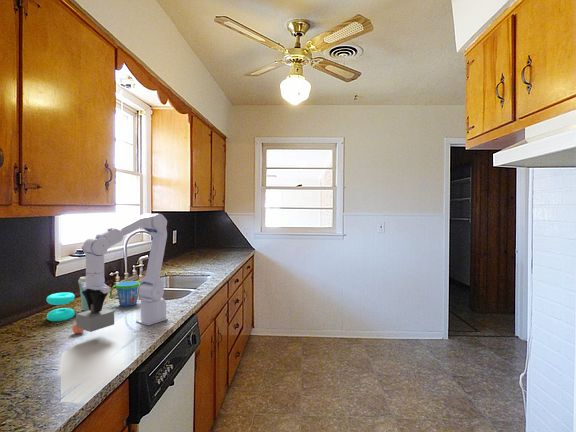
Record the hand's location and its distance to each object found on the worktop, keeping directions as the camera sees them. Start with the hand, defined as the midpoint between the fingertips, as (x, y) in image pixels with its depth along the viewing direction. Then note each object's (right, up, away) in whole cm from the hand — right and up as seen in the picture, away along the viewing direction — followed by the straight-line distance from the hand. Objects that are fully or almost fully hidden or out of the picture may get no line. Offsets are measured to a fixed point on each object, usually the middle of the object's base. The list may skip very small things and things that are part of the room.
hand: (95, 310), depth 126 cm
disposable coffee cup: (-21, -9, +36) cm, 42 cm away
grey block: (0, -5, 0) cm, 5 cm away
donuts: (-27, -10, +23) cm, 36 cm away
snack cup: (-8, -9, +44) cm, 46 cm away
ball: (-9, -8, +6) cm, 13 cm away
